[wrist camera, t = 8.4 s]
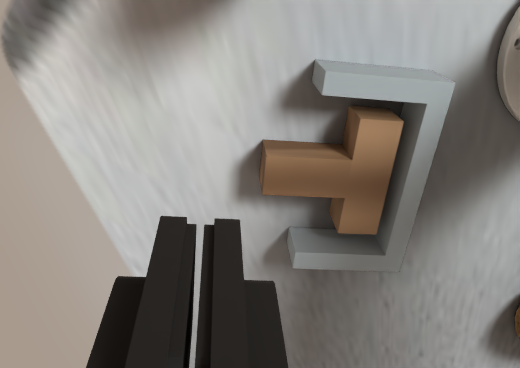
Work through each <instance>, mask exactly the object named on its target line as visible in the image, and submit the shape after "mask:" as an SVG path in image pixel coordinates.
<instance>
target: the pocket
mask: <svg viewBox="0 0 520 368" xmlns="http://www.w3.org/2000/svg"><path fill="white" fill-rule="evenodd" d="M312 82H313V84H314V85H315V86H316V88H317V89H318V90H319V92H320V93H321V94H322V95H327V96H339V97H351V98H363V99H375V100H388V101H400V102H404V104H403V108H402V112H401V116H400V119H402V120H403V121H404V123H403V127H402V131H401V135H400V139H399V144H398V148H397V152H396V156H395V160H394V164H393V168H392V172H391V176H390V180H389V185H388V189H387V193H386V197H385V201H384V205H383V209H382V213H381V217H380V221H379V226H378V230H377V234H347V233H338V232H337V230H336V229H318V228H296V227H289V231H288V237H287V246H288V250H289V254H290V258H291V263H292V267H293V268H295V269H323V270H352V271H381V272H400V268H401V265H402V261H403V258H404V255H405V251H406V248H407V245H408V241H409V238H410V235H411V231H412V228H413V225H414V221H415V218H416V215H417V211H418V208H419V204H420V201H421V198H422V194H423V191H424V188H425V184H426V181H427V178H428V174H429V171H430V168H431V164H432V161H433V157H434V154H435V151H436V147H437V144H438V141H439V137H440V134H441V131H442V127H443V124H444V121H445V117H446V114H447V111H448V107H449V104H450V100H451V97H452V94H453V90H454V87H455V84H456V83H455V82H453V81H452V80H450V79H448V78H446V77H444V76H442V75H440V74H438V73H437V72H435V71H433V70H423V69H412V68H401V67H390V66H379V65H368V64H357V63H346V62H335V61H324V60H315V64H314V70H313V77H312Z"/></svg>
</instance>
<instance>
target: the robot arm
mask: <svg viewBox="0 0 520 368" xmlns="http://www.w3.org/2000/svg"><path fill="white" fill-rule="evenodd" d="M515 41H516V42H515ZM497 81H498V86H499V92H500V95H501V97H502V99H503V102H504V104H505V106H506V108H507V109H508V110H509V111H510V113H511V114H512V115H513V117H514V118H516V119H517V120H518V121H520V6H519V7H518V9H517V11H516V12H515V14H514V16H513V18H512V20H511V21H510V23H509V25H508V27H507V29H506V32H505V35H504V37H503V40H502V43H501V46H500V51H499V56H498V61H497ZM195 248H196V224H187V217H171V216H161V217H160V221H159V225H158V230H157V234H156V238H155V242H154V246H153V251H152V255H151V259H150V263H149V267H148V272H147V276H146V277H123V276H118V277H117V278H116V280H115V282H114V285H113V288H112V291H111V294H110V297H109V300H108V303H107V306H106V309H105V312H104V315H103V318H102V321H101V324H100V327H99V330H98V333H97V336H96V339H95V342H94V345H93V349H92V351H91V354H90V357H89V360H88V363H87V366H86V368H189V361H190V348H191V336H192V320H193V297H194V272H195ZM195 368H288V363H287V356H286V350H285V344H284V338H283V331H282V325H281V319H280V313H279V306H278V300H277V294H276V288H275V283H274V282H273V281H254V280H244V275H243V260H242V244H241V229H240V220H237V219H215V222H214V225H204V239H203V254H202V269H201V283H200V298H199V313H198V328H197V343H196V358H195Z"/></svg>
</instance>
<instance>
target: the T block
mask: <svg viewBox="0 0 520 368" xmlns="http://www.w3.org/2000/svg"><path fill="white" fill-rule="evenodd" d="M403 123H404V121H403V120H402V119H400V118H399V117H398V116H397V115H396V114H395V113H394V112H393V111H392V110H390V109H389V108H379V107H364V106H349V109H348V114H347V119H346V125H345V130H344V136H343V141H342V144H330V143H313V142H295V141H277V140H263V143H262V153H261V163H260V173H259V178H260V184H261V189H262V194H263V195H282V196H306V197H329V198H332V201H331V206H330V212H329V214H330V216H331V218H332V221H333V223H334V225H335V228H336V230H337V232H338V233H347V234H377V230H378V226H379V221H380V217H381V213H382V209H383V205H384V201H385V197H386V193H387V189H388V185H389V180H390V176H391V172H392V168H393V164H394V160H395V156H396V152H397V148H398V144H399V139H400V135H401V131H402V127H403Z"/></svg>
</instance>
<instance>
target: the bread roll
mask: <svg viewBox="0 0 520 368" xmlns="http://www.w3.org/2000/svg"><path fill="white" fill-rule="evenodd" d="M514 319H515V330H516V334H517V336H518V337H519V338H520V303H519V308H518V309H517V311H516V315H515V318H514Z"/></svg>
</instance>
